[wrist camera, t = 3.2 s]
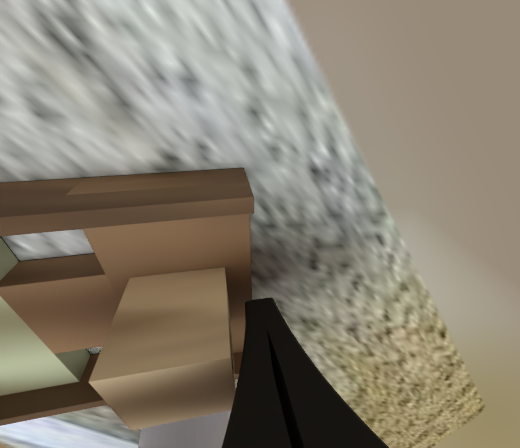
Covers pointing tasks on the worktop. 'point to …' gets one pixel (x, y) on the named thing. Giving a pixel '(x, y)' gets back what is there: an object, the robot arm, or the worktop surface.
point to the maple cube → (168, 350)
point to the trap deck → (107, 271)
